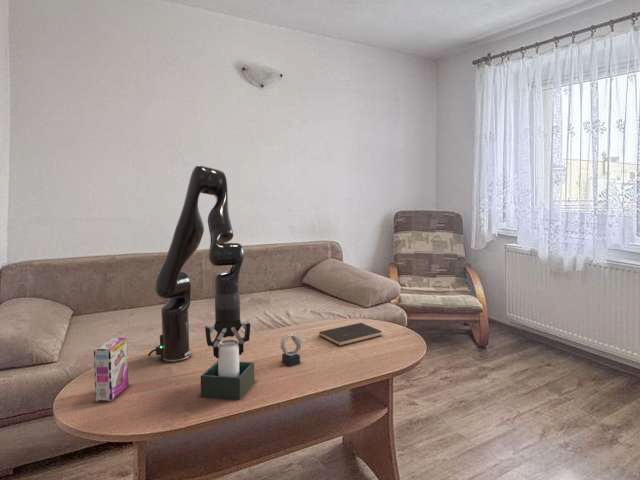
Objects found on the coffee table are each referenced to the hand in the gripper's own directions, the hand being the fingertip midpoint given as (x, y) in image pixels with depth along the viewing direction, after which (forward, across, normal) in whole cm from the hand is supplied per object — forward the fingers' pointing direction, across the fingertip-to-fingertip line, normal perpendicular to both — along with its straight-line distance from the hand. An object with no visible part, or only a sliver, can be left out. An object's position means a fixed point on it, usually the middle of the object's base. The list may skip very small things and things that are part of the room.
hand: (228, 355), depth 141 cm
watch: (+11, -24, -14) cm, 30 cm away
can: (+8, 0, 0) cm, 8 cm away
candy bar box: (+11, +34, -10) cm, 37 cm away
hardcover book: (+11, -56, -33) cm, 66 cm away
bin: (+11, 0, 0) cm, 11 cm away
